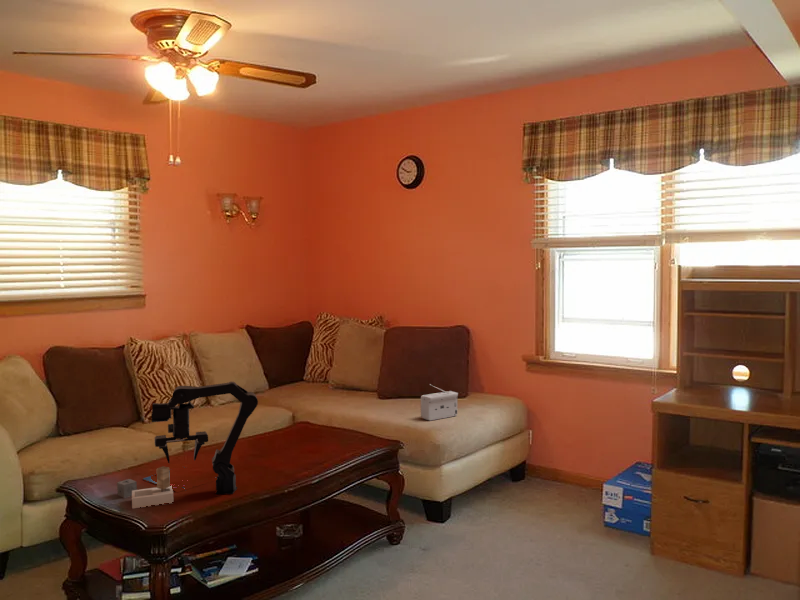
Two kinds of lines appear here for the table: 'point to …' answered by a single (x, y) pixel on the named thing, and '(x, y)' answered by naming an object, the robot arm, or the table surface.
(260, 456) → the table surface
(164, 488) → the maple peg
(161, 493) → the keyhole block
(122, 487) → the dice cube
